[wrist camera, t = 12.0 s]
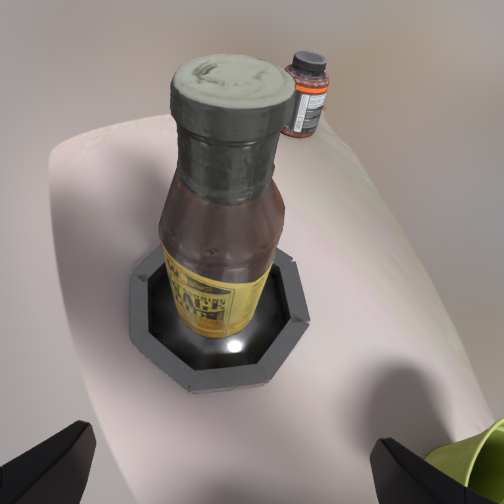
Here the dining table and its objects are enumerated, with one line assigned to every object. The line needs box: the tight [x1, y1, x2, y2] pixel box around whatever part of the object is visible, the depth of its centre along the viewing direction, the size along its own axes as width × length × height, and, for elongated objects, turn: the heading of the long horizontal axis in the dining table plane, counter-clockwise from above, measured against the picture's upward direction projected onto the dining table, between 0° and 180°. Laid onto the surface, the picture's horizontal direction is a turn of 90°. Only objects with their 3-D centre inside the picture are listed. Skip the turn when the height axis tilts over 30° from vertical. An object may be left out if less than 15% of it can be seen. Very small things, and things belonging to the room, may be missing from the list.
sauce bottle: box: [159, 54, 296, 340], centre depth 17 cm, size 7×6×20 cm
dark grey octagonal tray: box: [130, 245, 310, 394], centre depth 25 cm, size 14×14×2 cm
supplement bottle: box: [281, 51, 329, 138], centre depth 36 cm, size 6×6×11 cm
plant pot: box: [424, 418, 504, 504], centre depth 15 cm, size 9×9×9 cm
